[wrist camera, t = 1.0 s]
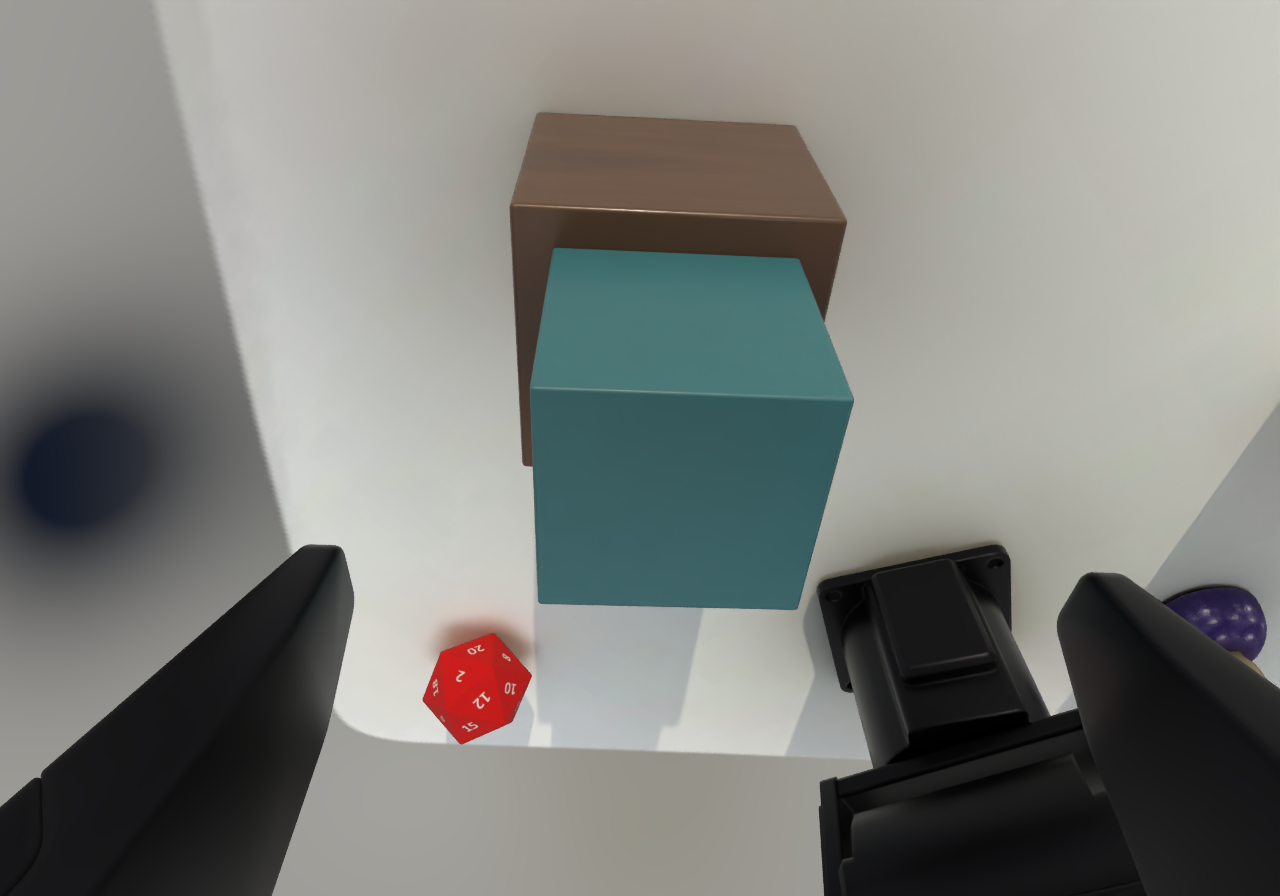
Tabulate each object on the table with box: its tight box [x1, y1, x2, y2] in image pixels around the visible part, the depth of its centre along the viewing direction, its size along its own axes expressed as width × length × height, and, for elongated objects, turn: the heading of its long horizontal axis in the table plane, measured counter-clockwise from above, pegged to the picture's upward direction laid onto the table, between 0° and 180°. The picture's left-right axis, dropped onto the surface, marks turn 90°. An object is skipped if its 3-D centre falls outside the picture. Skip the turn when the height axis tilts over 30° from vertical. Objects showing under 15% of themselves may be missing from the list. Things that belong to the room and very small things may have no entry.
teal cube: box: [530, 248, 854, 610], centre depth 14 cm, size 4×4×4 cm
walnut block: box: [510, 113, 847, 466], centre depth 18 cm, size 6×6×6 cm
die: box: [423, 633, 532, 744], centre depth 29 cm, size 4×4×4 cm
